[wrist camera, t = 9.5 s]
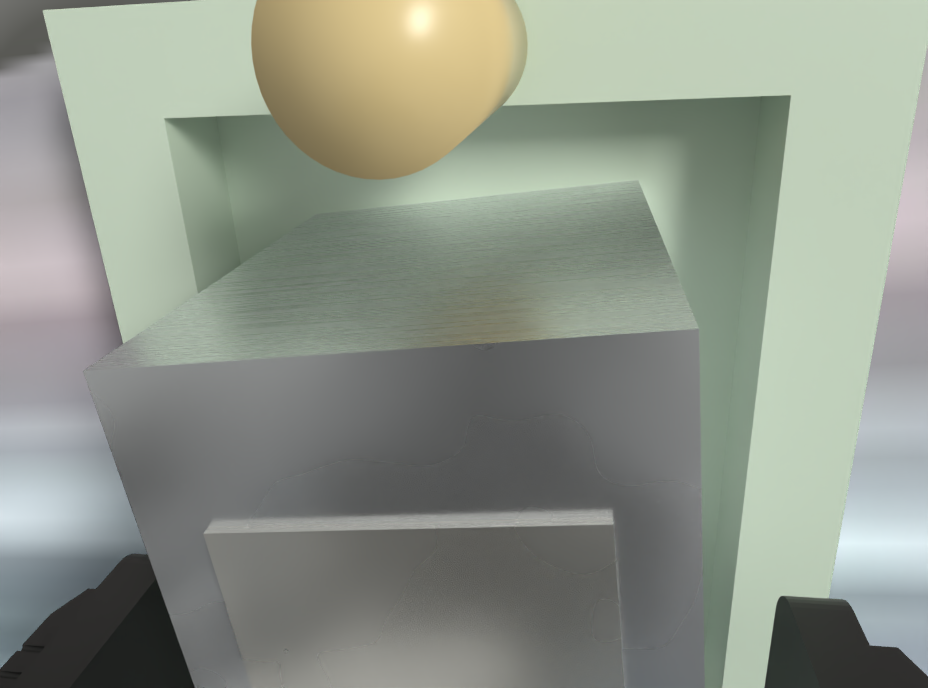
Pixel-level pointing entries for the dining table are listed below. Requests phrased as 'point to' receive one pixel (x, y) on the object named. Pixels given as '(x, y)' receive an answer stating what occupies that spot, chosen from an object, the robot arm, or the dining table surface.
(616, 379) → the block
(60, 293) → the dining table surface
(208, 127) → the tray
